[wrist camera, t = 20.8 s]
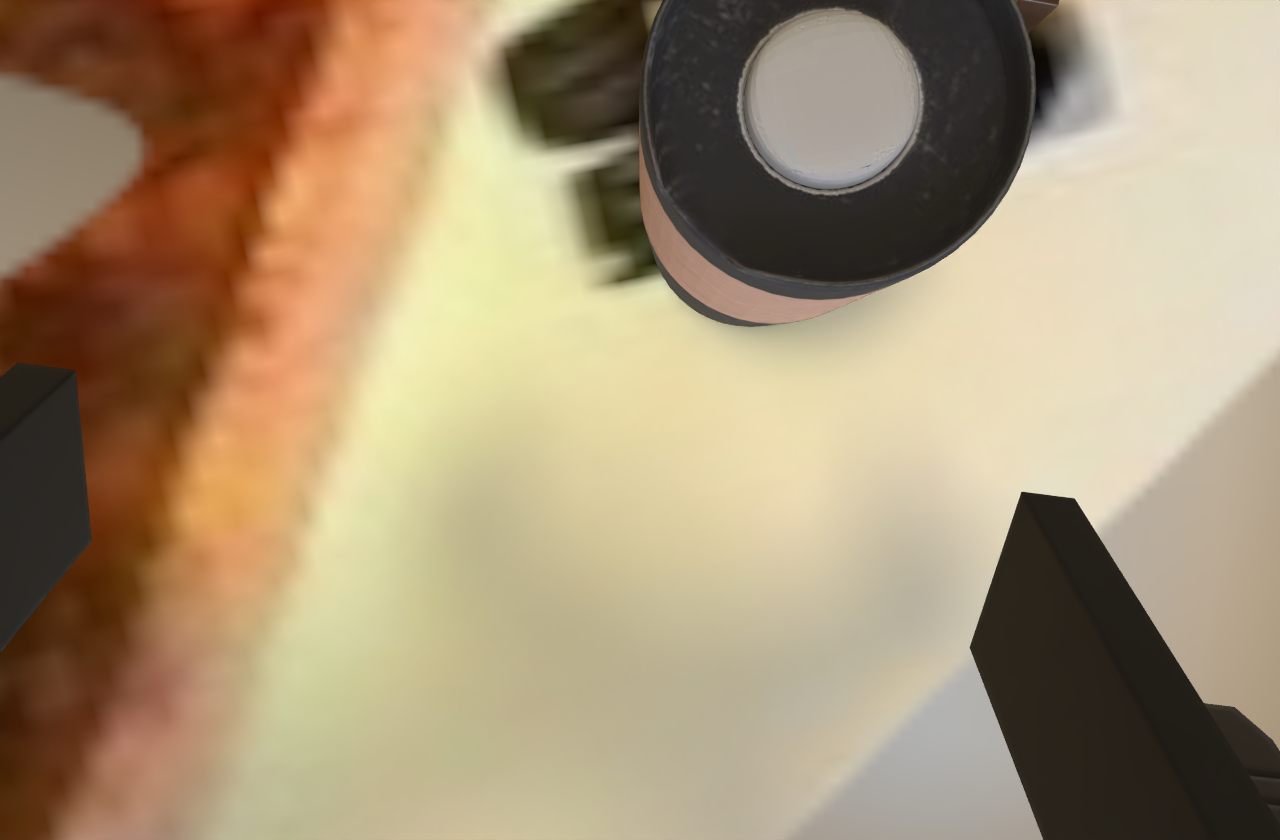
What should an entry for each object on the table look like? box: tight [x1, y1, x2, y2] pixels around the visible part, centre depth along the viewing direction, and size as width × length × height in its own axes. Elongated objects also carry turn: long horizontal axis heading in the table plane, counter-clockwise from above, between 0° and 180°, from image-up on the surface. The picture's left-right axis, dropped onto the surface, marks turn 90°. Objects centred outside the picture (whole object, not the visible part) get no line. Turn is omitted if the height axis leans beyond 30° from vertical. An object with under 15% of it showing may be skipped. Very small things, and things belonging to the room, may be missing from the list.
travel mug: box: [639, 0, 1036, 327], centre depth 31 cm, size 8×8×20 cm
